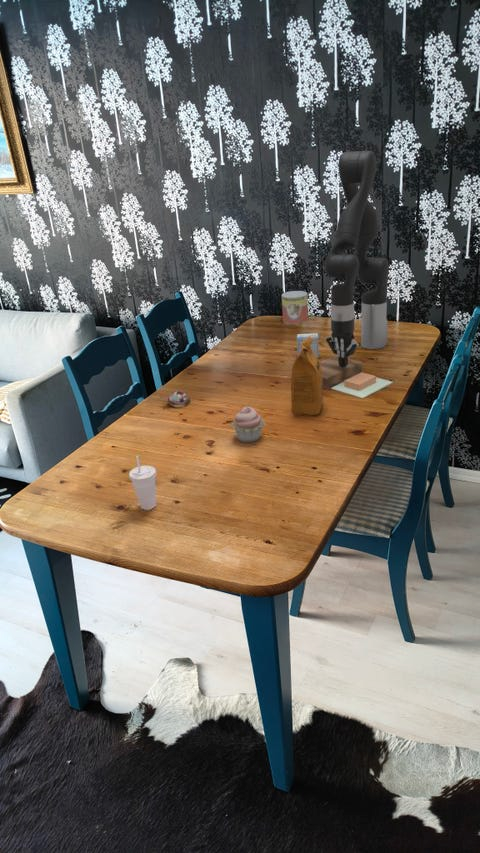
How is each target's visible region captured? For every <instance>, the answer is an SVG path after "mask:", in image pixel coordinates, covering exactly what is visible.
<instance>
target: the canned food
mask: <svg viewBox="0 0 480 853" xmlns="http://www.w3.org/2000/svg"><path fill="white" fill-rule="evenodd" d="M308 304H309V303H308V292H306V291H302V290H290V291H287V292H283V293H282V294H281V308H282V322H284V323H283V324H285V325H289V324H297V325H299V324H298V323H303V322H306V321H307V322H309V310H308V309H309V308H308ZM307 322H306V323H307ZM303 324H304V323H303Z"/></svg>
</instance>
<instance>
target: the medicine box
mask: <svg viewBox="0 0 480 853" xmlns="http://www.w3.org/2000/svg"><path fill="white" fill-rule="evenodd" d="M307 337H311V338H312V339H313V342H312V343H311V345H310V347H311V349H312V352H313V354H314V355H315V356H316V357H317V359H319V357H320V356H319V355H320V352H319V333H317V332H316V333H298V334H296V347H297V348H296V351H297V357H298V356H299V354H300V353H301V351H302V347H301V343H303V342H304V341H305V340H306V339H307Z"/></svg>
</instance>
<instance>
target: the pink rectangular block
mask: <svg viewBox="0 0 480 853" xmlns="http://www.w3.org/2000/svg"><path fill="white" fill-rule="evenodd" d="M376 377H377V376H376V375H373V374H370V373H366V372H363V371H362V372H361V373H359V374H357V375H355V376H353V377H351V378H349V379H347V380H344V386H345V387H347V388H351V389H354V390H357V391H360V390H362V389H364V388H366V387H368V386H370V385H372V384H374V383H376Z"/></svg>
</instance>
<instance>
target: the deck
mask: <svg viewBox="0 0 480 853" xmlns="http://www.w3.org/2000/svg"><path fill="white" fill-rule="evenodd" d="M319 362H320V366H321V369H322V376H323V390H327V391H328V390H331V388H332V387H334V386H336V385H338V384H340V383H342V382H344V380H347V379H349V378H351V377H353V376H355V375H357V374H359V373H361V372H363V362H362V361H357V360H355V359H350V358H348V365H347V366H346V367H344V368H342V367H340V366H339V363H338V356H337V354H334V355H333V356H330V357H329V358H326V359H324V360H321V361H319Z"/></svg>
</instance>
